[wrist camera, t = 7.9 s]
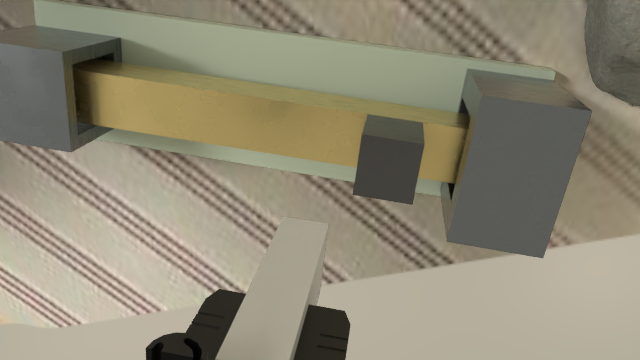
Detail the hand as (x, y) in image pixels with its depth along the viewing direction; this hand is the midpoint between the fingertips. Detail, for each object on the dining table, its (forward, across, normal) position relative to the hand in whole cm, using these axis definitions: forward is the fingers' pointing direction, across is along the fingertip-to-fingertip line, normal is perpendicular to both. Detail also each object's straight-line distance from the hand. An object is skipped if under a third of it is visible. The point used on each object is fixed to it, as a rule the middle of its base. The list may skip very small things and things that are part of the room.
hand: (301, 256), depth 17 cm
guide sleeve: (+18, -19, 0) cm, 26 cm away
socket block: (+17, +9, 0) cm, 19 cm away
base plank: (+19, -5, 0) cm, 19 cm away
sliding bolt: (+16, -4, 0) cm, 17 cm away
